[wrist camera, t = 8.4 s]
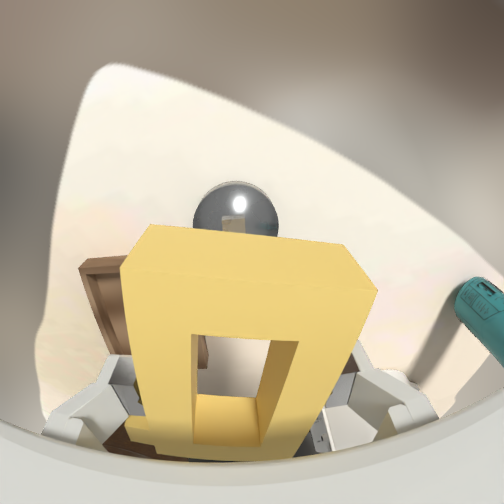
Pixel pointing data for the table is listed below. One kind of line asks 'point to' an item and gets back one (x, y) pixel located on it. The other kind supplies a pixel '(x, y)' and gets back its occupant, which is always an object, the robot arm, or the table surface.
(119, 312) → the tray
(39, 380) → the table surface
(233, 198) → the silver knob
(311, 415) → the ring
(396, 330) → the table surface
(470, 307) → the beverage bottle
